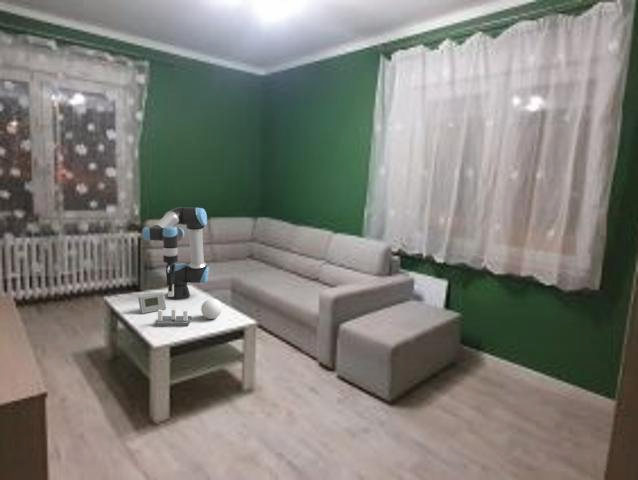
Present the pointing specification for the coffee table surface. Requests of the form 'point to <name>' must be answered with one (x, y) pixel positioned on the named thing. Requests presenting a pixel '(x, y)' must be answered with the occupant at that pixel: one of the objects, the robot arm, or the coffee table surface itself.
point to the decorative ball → (211, 308)
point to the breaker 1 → (160, 315)
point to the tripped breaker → (173, 313)
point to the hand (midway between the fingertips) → (170, 295)
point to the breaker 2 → (185, 315)
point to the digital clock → (152, 302)
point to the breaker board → (172, 322)
